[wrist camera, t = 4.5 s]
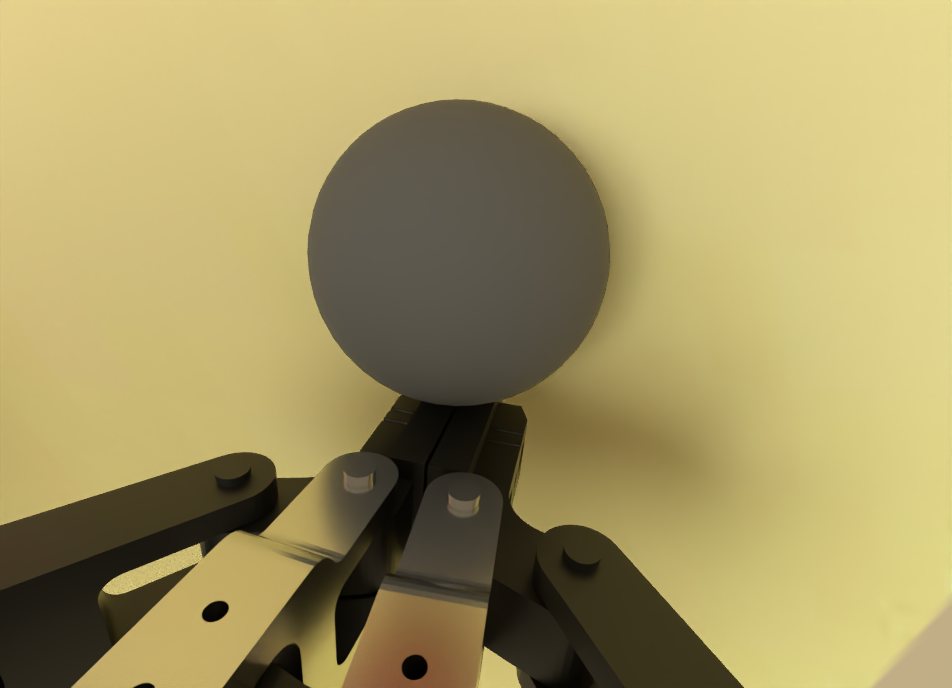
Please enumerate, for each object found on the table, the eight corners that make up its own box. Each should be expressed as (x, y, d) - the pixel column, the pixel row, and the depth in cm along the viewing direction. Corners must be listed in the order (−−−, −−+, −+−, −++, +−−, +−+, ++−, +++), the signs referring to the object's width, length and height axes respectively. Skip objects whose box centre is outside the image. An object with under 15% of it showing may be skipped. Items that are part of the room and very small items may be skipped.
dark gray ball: (486, 468, 12) (462, 473, 6) (314, 319, 13) (167, 217, 7) (635, 285, 12) (726, 150, 7) (459, 160, 14) (420, -42, 8)
